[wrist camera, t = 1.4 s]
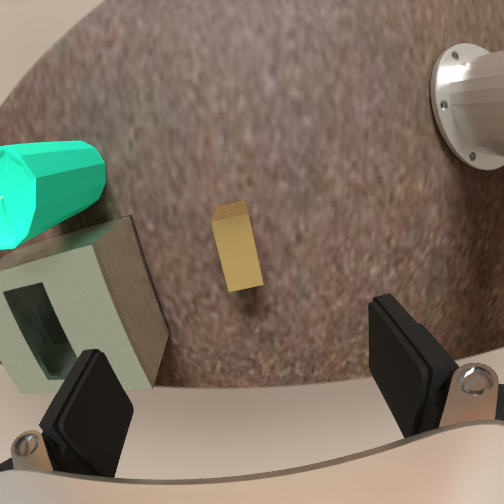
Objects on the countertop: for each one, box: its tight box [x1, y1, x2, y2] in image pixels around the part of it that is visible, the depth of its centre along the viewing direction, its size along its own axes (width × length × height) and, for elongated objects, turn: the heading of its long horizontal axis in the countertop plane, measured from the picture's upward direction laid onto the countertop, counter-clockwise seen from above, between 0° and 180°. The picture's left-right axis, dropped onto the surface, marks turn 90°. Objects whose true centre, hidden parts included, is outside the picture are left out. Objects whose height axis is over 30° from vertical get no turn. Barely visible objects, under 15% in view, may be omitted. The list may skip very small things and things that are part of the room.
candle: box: [0, 141, 106, 249], centre depth 18 cm, size 6×6×12 cm
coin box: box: [0, 215, 170, 394], centre depth 23 cm, size 14×11×8 cm
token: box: [211, 200, 264, 292], centre depth 23 cm, size 2×5×5 cm, turn 12°
